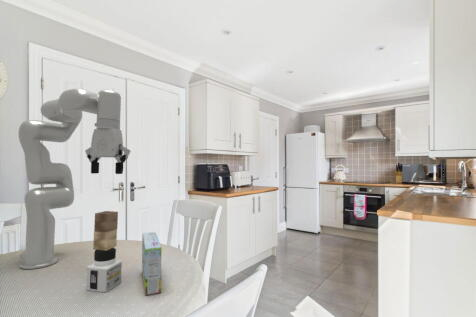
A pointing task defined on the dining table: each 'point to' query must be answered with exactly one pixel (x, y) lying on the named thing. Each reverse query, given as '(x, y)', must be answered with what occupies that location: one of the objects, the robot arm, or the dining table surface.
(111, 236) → the oak block
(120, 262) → the container
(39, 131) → the robot arm
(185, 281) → the dining table surface
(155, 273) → the snack box
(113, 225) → the walnut block
